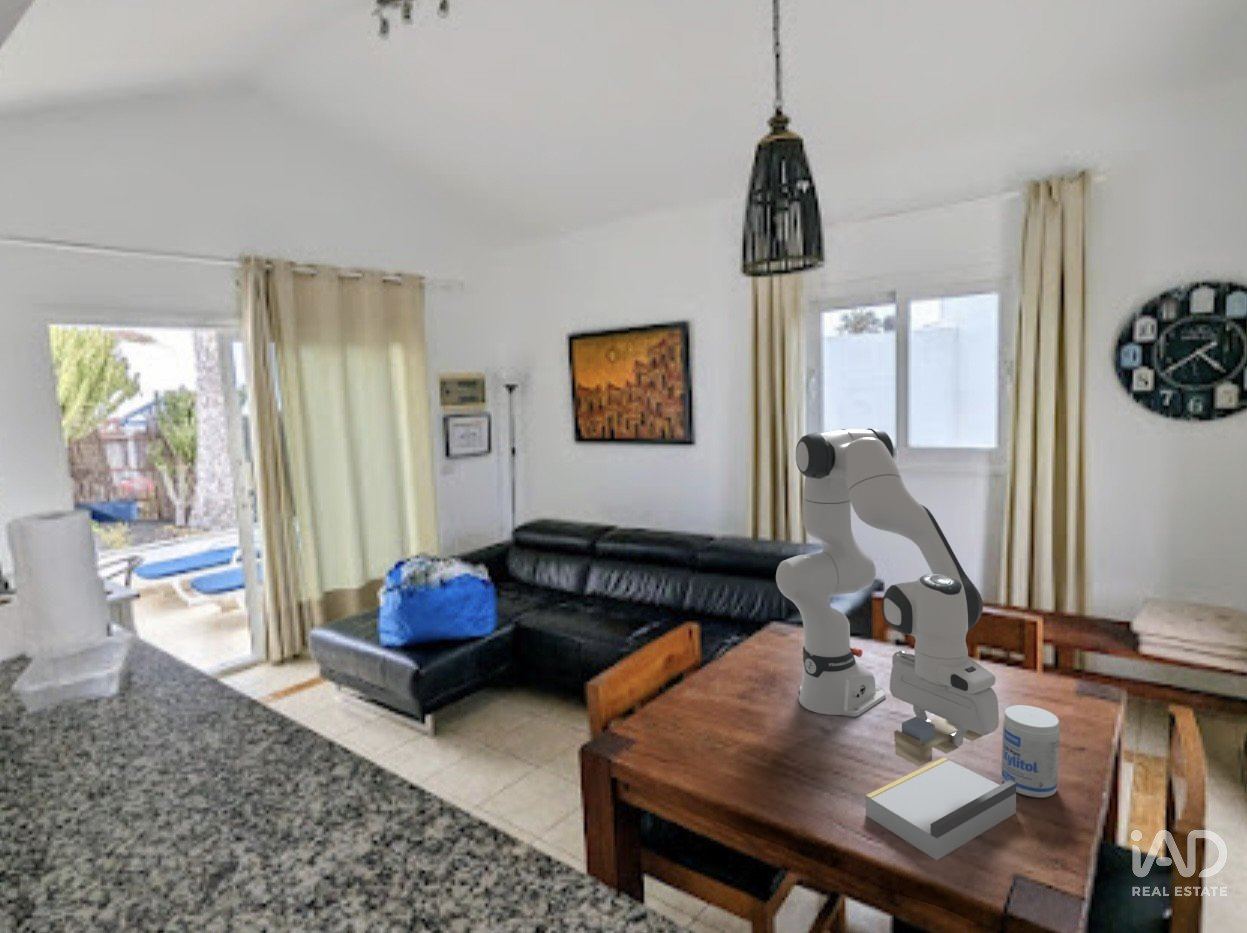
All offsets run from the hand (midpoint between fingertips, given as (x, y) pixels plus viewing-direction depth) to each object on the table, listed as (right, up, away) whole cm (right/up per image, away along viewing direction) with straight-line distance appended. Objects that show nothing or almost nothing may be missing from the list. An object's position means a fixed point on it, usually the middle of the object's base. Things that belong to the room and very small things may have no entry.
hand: (940, 736), depth 127 cm
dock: (+1, -15, +2) cm, 15 cm away
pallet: (0, -2, 0) cm, 2 cm away
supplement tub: (+22, -14, +9) cm, 27 cm away
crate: (-6, +1, -3) cm, 7 cm away
